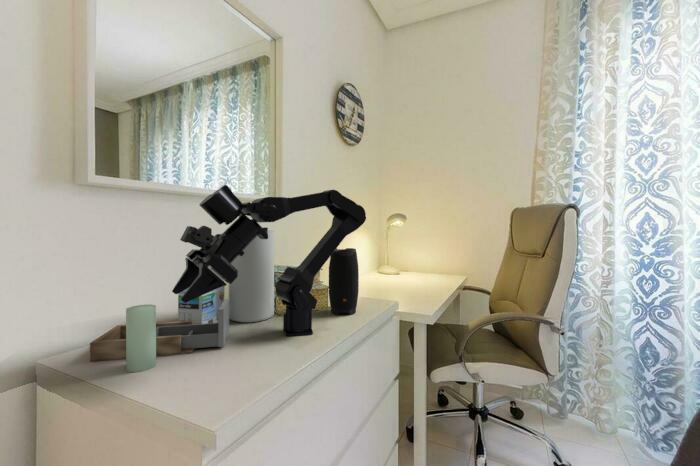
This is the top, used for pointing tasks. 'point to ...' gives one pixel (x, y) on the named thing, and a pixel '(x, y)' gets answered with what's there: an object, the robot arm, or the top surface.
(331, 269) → the portable speaker
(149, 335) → the pale green cylinder
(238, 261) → the cylinder vase
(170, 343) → the dock
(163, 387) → the top surface
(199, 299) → the light bulb box
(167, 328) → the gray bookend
